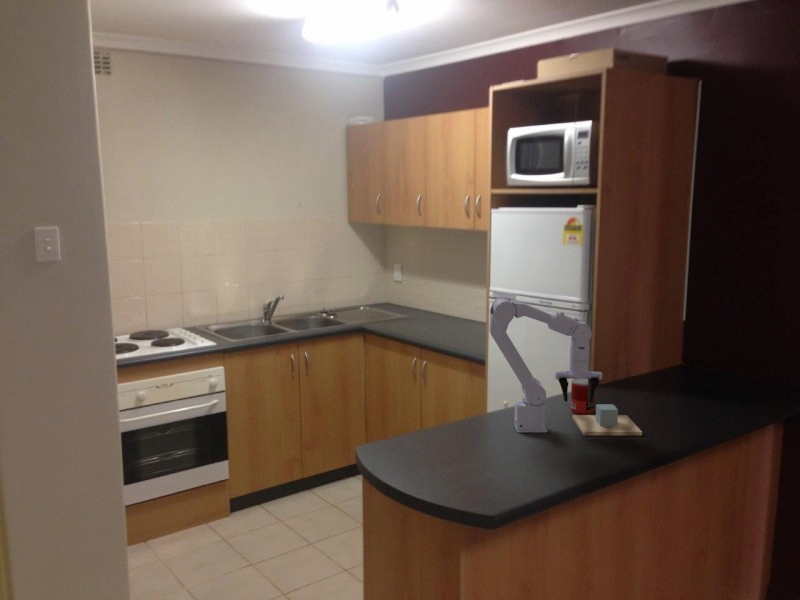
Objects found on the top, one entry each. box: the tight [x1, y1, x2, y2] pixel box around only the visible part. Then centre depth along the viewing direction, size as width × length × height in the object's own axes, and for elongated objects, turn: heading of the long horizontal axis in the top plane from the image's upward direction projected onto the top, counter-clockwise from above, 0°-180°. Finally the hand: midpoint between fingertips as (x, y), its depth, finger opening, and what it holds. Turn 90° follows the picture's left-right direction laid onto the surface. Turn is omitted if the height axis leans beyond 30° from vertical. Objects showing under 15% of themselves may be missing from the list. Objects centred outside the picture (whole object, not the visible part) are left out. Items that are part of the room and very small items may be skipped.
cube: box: [595, 403, 619, 426], centre depth 229 cm, size 6×6×6 cm
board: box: [572, 414, 643, 437], centre depth 230 cm, size 18×16×1 cm
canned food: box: [570, 379, 596, 415], centre depth 244 cm, size 8×8×11 cm
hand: (577, 400), depth 226 cm, fingers open, 7 cm apart
